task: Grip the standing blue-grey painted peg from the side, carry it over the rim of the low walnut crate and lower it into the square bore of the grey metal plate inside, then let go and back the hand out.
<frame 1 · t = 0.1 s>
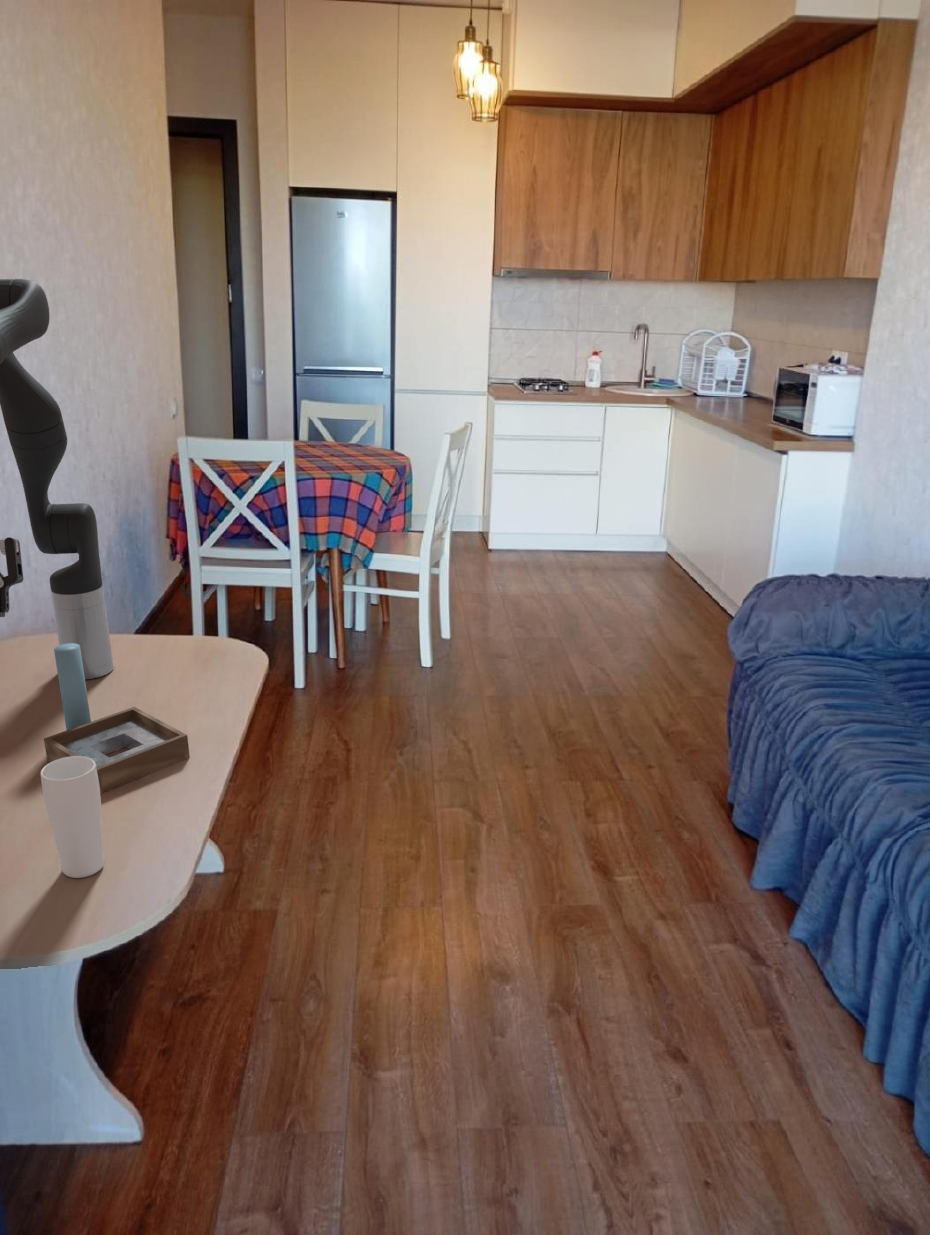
blue-grey painted peg: (80, 735, 169), on the table
walnut crate: (118, 759, 161), on the table
drinking glass: (84, 869, 132), on the table
grey metal bore plate: (117, 752, 161), in the walnut crate
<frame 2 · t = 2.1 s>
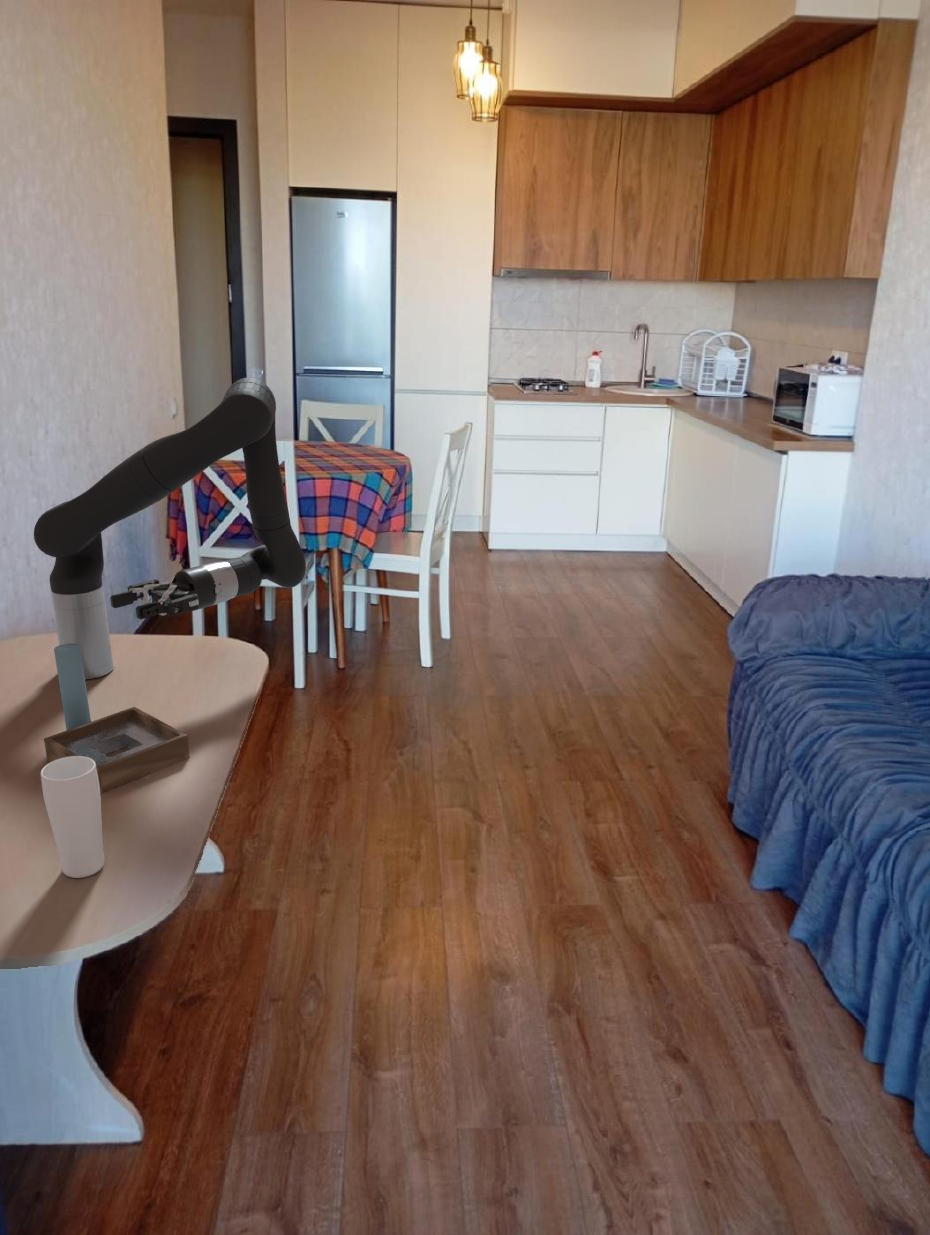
hand: (124, 607, 170), 20 cm above the table, tool horizontal, fingers open, 8 cm apart
nothing on the table moved.
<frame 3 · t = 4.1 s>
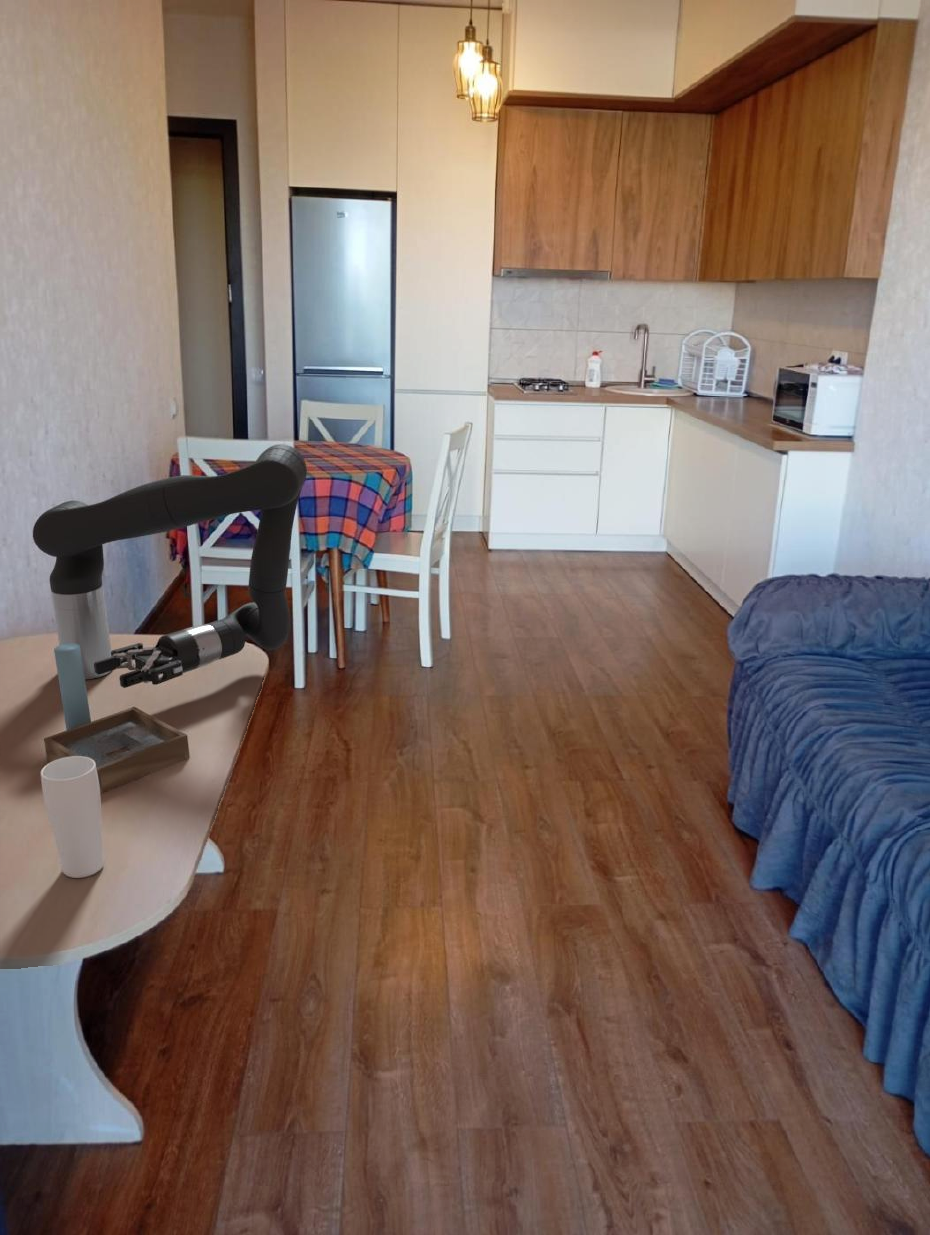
hand: (107, 675, 170), 9 cm above the table, tool horizontal, fingers open, 8 cm apart
nothing on the table moved.
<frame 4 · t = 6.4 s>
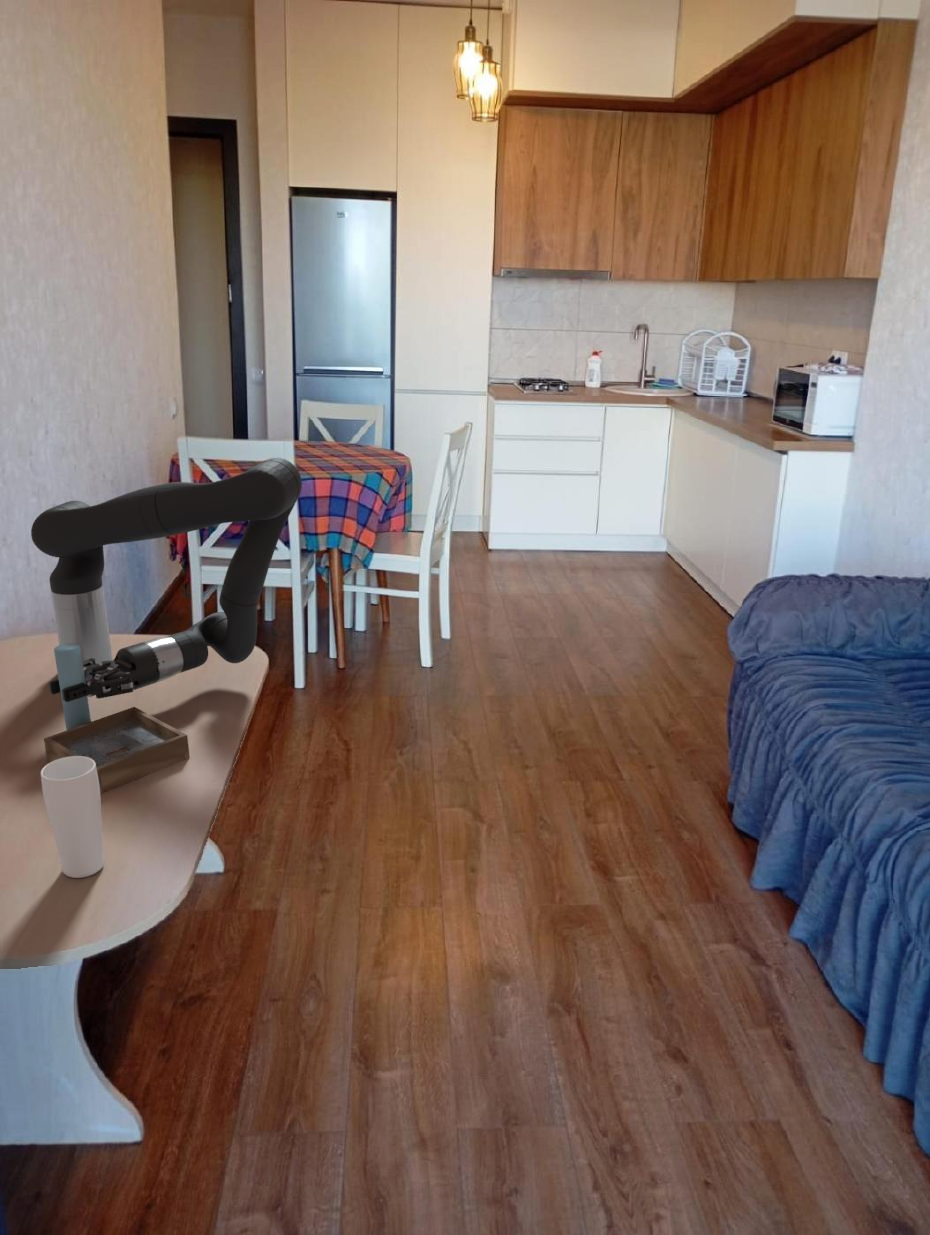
hand: (57, 692, 164), 9 cm above the table, tool horizontal, fingers closed on blue-grey painted peg, 4 cm apart
blue-grey painted peg: (80, 735, 169), on the table, touching gripper
everything else where it was.
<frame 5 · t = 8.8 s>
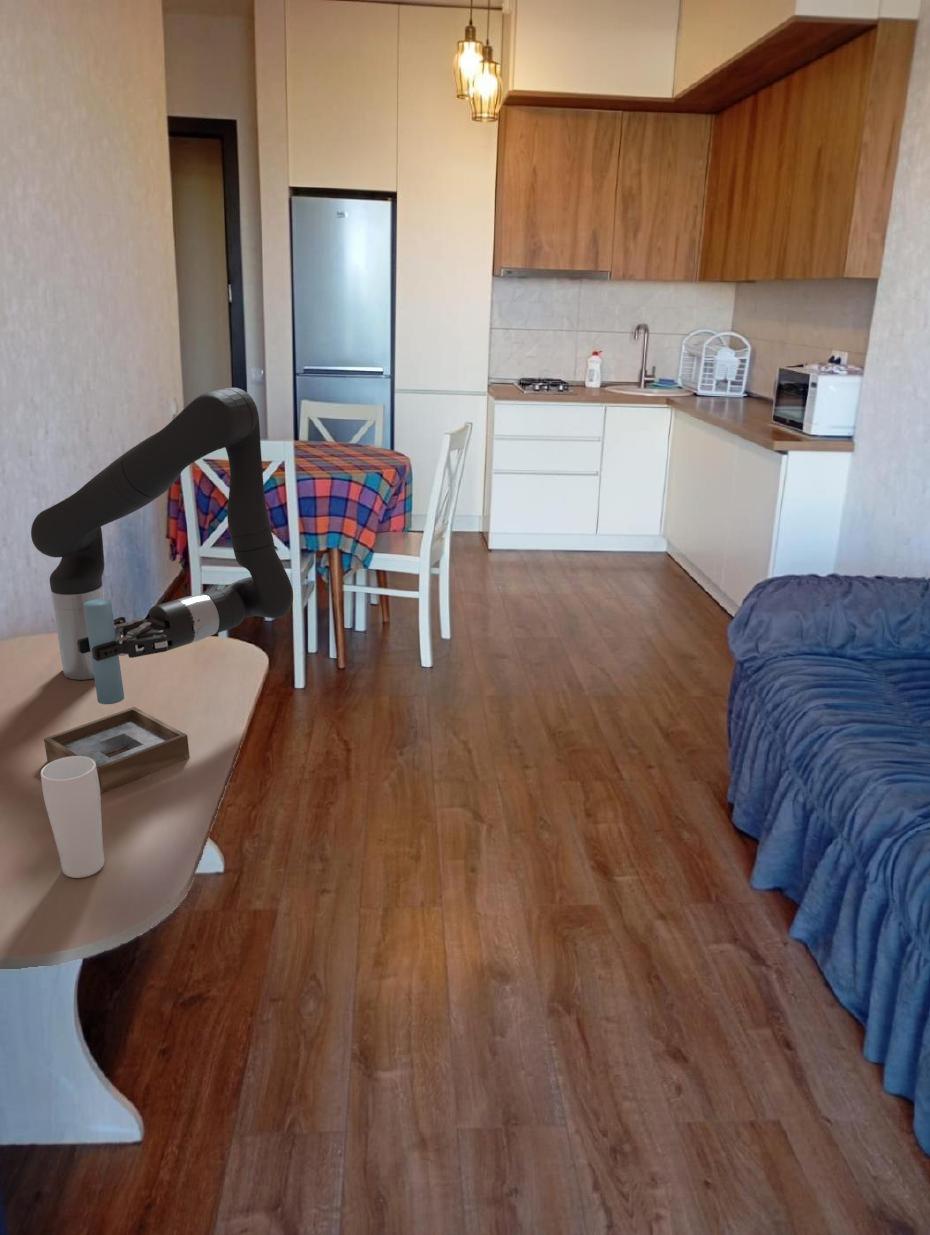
hand: (86, 650, 152), 20 cm above the table, tool horizontal, fingers closed on blue-grey painted peg, 4 cm apart
blue-grey painted peg: (111, 698, 158), point 11 cm above the table, touching gripper
everything else where it was.
when the fingers open (10 cm above the table, at t = 11.3 s): blue-grey painted peg stays where it is, resting in grey metal bore plate.
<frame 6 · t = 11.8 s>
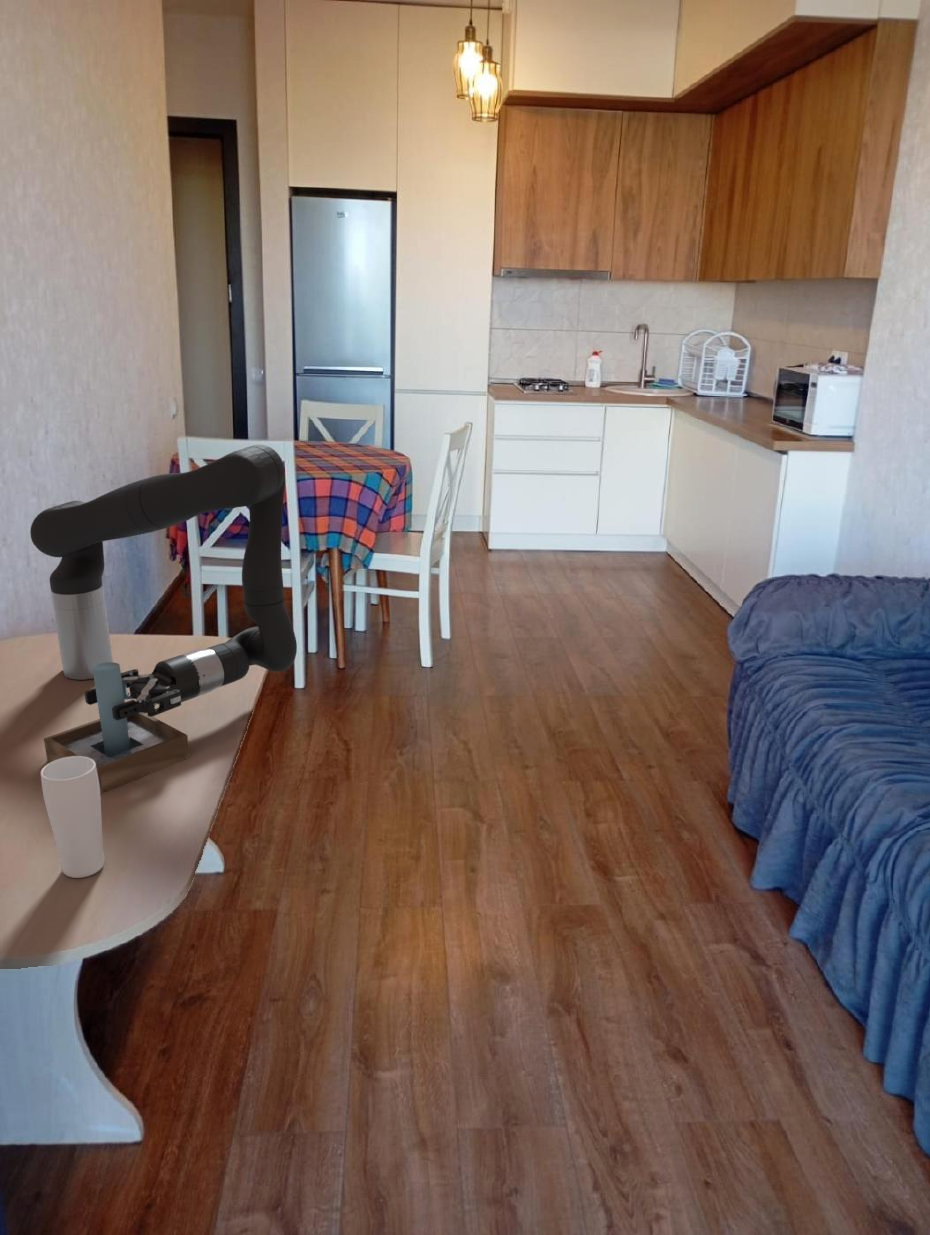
hand: (99, 706, 156), 10 cm above the table, tool horizontal, fingers open, 8 cm apart
blue-grey painted peg: (119, 758, 161), resting in grey metal bore plate
everything else where it was.
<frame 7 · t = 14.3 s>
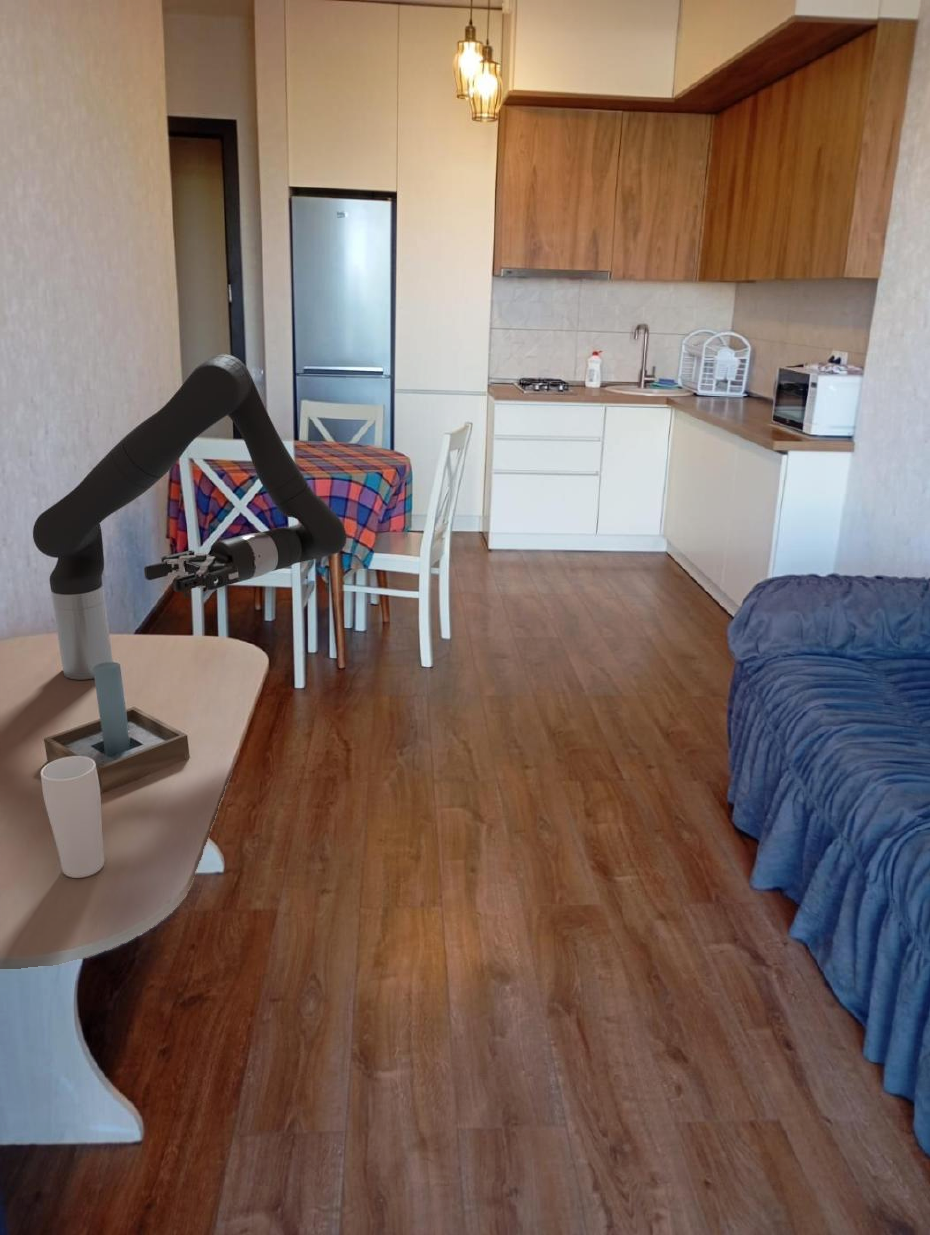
hand: (159, 579, 159), 28 cm above the table, tool horizontal, fingers open, 8 cm apart
nothing on the table moved.
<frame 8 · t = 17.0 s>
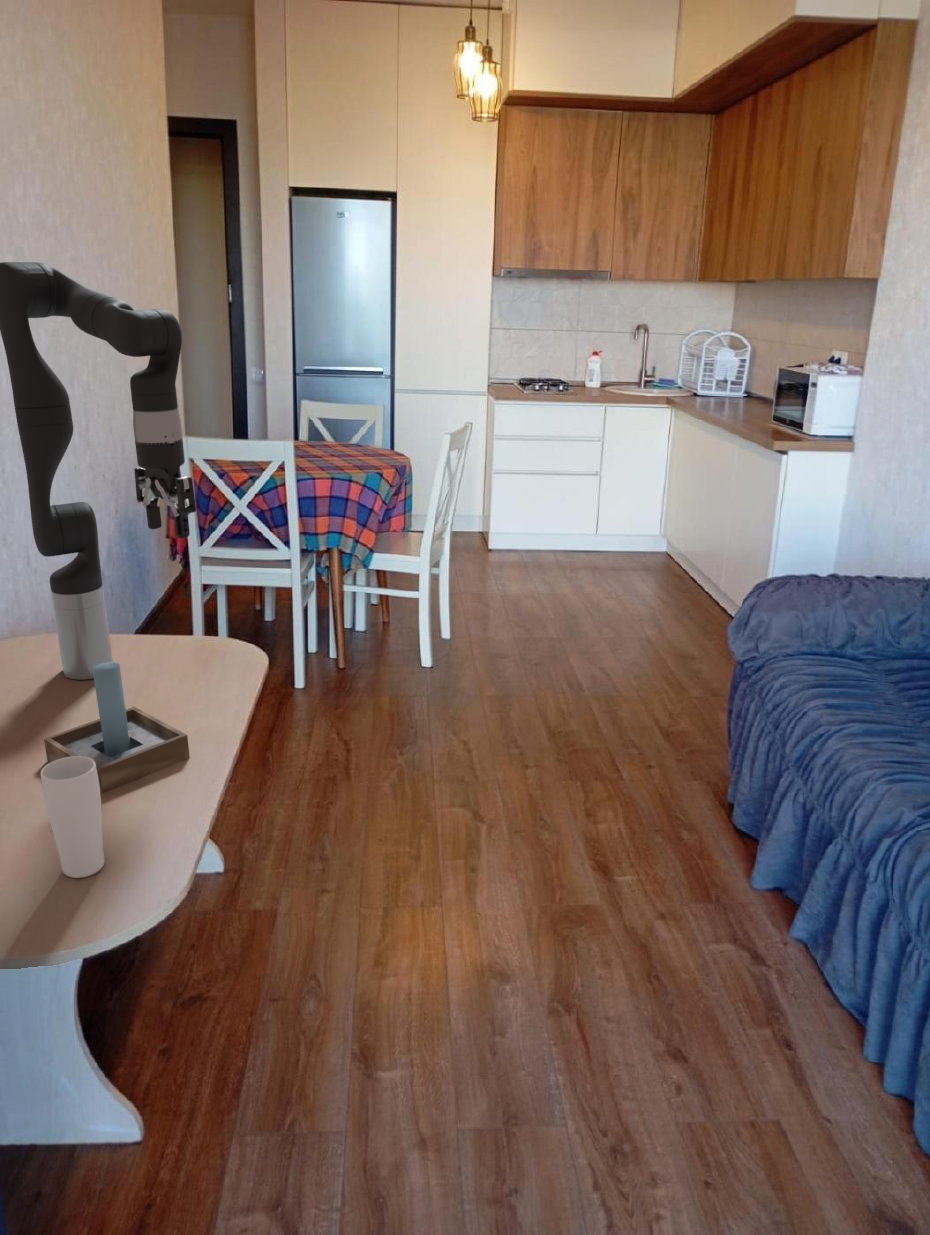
hand: (168, 532, 169), 32 cm above the table, tool pointing down, fingers open, 8 cm apart
nothing on the table moved.
at the end: blue-grey painted peg 0.1 cm off-centre on the grey metal bore plate, point 0.0 cm above the grey metal bore plate's base; blue-grey painted peg tilted 0°; the gripper is holding nothing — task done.
